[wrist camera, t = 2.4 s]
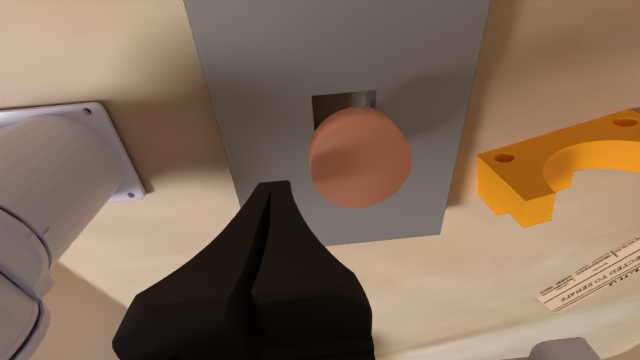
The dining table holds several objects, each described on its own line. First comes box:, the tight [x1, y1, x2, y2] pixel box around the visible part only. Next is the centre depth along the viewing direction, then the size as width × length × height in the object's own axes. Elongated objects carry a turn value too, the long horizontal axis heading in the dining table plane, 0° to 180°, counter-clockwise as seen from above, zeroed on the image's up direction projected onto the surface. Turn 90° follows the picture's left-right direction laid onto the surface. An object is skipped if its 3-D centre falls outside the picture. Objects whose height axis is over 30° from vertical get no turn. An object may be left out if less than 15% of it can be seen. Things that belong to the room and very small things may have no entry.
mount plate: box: [183, 0, 491, 246], centre depth 21 cm, size 16×22×3 cm
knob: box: [309, 107, 412, 209], centre depth 17 cm, size 5×5×5 cm
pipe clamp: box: [477, 109, 640, 228], centre depth 23 cm, size 12×4×6 cm, turn 108°
